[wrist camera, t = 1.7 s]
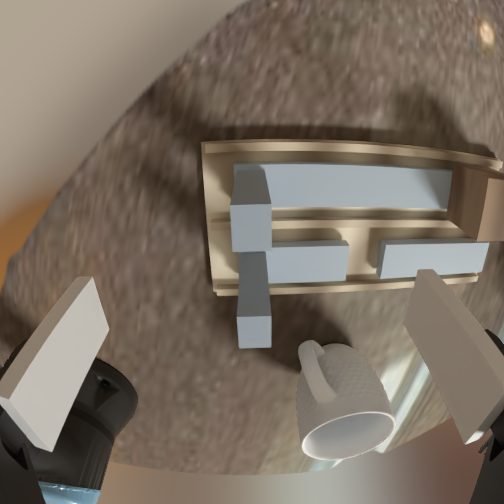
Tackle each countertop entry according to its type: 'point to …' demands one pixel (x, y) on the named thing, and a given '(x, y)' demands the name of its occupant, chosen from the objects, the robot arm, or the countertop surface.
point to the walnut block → (477, 202)
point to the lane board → (327, 210)
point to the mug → (340, 403)
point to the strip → (325, 192)
